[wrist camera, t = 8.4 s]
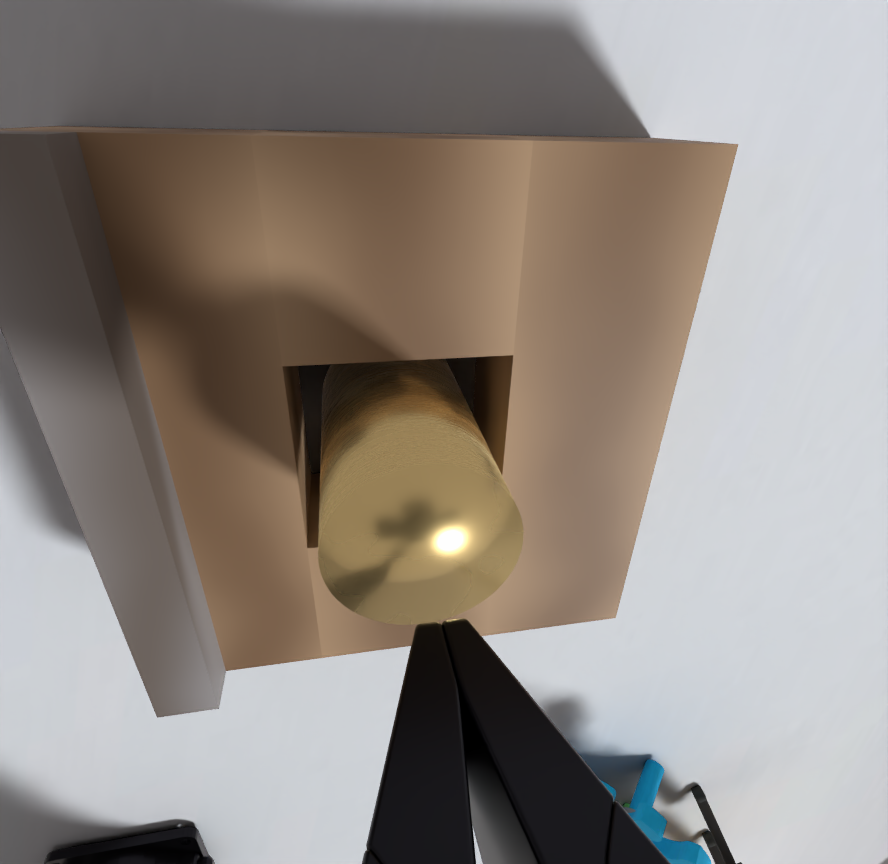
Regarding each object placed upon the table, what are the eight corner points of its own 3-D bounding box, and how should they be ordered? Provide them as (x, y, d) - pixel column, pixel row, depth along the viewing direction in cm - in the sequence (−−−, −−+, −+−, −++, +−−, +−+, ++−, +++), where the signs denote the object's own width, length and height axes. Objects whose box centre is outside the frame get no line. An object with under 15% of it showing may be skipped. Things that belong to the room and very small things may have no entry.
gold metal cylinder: (328, 456, 17) (327, 636, 11) (316, 334, 15) (307, 474, 9) (452, 446, 18) (514, 611, 12) (457, 329, 16) (533, 456, 10)
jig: (193, 589, 19) (157, 717, 15) (59, 126, 12) (-79, 132, 8) (575, 547, 21) (632, 647, 17) (652, 138, 14) (779, 147, 10)
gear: (542, 766, 26) (769, 929, 22) (591, 669, 30) (791, 791, 25) (513, 842, 33) (680, 977, 28) (556, 755, 37) (709, 863, 32)
